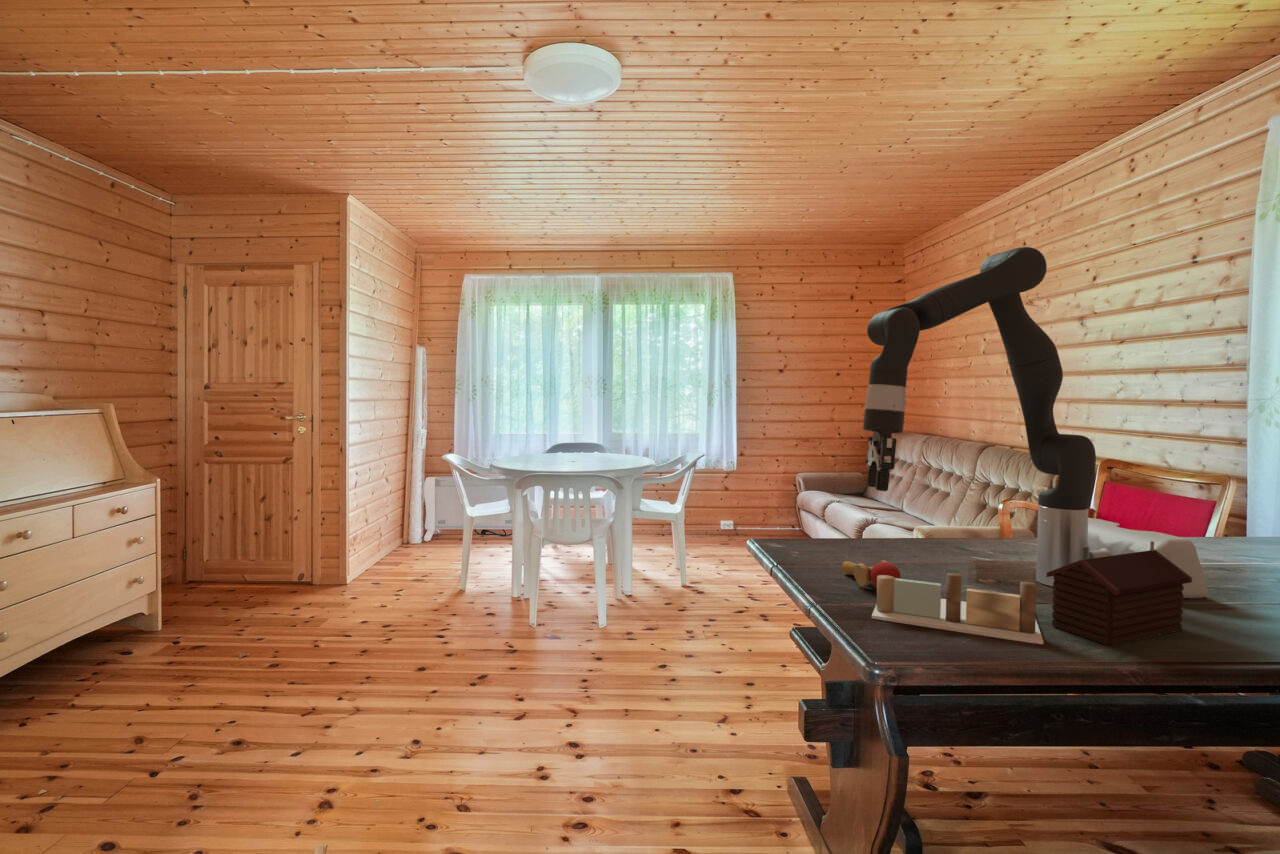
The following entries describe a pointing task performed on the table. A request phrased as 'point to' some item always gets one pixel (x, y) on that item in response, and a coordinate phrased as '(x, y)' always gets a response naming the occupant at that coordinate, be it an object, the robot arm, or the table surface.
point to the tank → (1123, 541)
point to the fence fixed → (993, 606)
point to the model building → (1119, 597)
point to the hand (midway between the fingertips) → (876, 488)
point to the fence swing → (908, 596)
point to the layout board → (957, 624)
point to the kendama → (870, 571)
